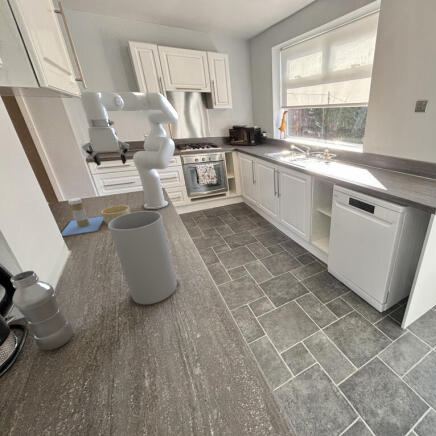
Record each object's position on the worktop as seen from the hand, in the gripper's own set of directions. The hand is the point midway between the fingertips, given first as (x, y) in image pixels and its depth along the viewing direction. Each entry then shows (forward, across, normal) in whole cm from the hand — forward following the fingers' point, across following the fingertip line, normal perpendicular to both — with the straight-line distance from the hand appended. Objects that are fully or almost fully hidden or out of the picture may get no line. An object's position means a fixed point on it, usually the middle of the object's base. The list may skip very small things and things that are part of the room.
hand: (112, 164), depth 109 cm
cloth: (+29, +19, -2) cm, 35 cm away
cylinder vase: (+29, -16, +63) cm, 71 cm away
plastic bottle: (+28, +5, +74) cm, 79 cm away
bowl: (+29, +5, -3) cm, 30 cm away
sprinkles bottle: (+29, +19, -2) cm, 35 cm away
